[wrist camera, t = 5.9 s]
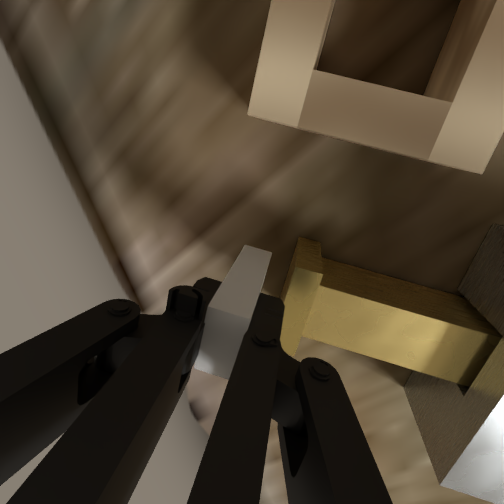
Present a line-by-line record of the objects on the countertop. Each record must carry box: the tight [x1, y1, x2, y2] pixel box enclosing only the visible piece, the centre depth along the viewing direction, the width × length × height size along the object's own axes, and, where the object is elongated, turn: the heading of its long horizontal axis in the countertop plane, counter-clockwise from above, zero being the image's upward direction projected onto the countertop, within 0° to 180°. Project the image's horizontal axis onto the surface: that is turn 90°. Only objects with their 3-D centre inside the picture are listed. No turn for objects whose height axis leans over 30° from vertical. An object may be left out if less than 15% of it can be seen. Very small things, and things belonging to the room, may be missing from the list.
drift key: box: [280, 237, 503, 387], centre depth 16 cm, size 4×10×4 cm, turn 76°
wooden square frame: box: [247, 0, 504, 174], centre depth 12 cm, size 9×9×4 cm
